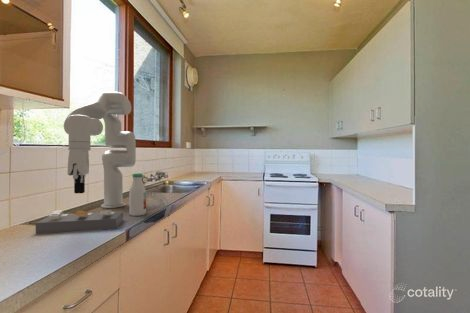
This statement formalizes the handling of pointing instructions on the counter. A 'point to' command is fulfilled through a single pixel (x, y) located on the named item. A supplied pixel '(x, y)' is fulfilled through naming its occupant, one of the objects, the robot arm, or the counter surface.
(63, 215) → the power strip
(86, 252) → the counter surface
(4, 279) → the counter surface
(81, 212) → the amber rocker
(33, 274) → the counter surface
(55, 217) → the white rocker
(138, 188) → the milk bottle
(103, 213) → the white rocker
